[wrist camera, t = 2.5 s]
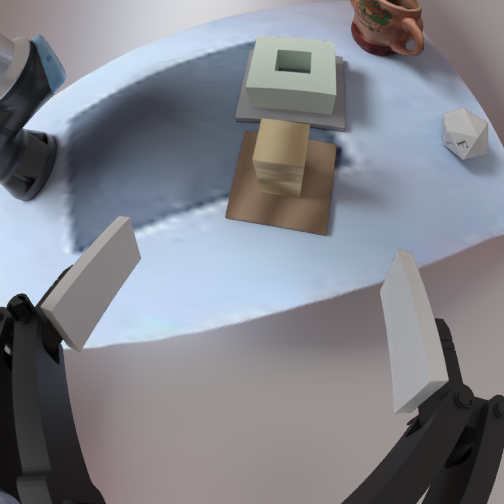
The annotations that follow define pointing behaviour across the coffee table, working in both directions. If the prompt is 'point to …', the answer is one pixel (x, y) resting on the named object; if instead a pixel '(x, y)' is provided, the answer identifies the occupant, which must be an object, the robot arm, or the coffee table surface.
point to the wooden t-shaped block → (283, 178)
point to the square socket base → (293, 83)
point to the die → (465, 133)
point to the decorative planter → (387, 26)
